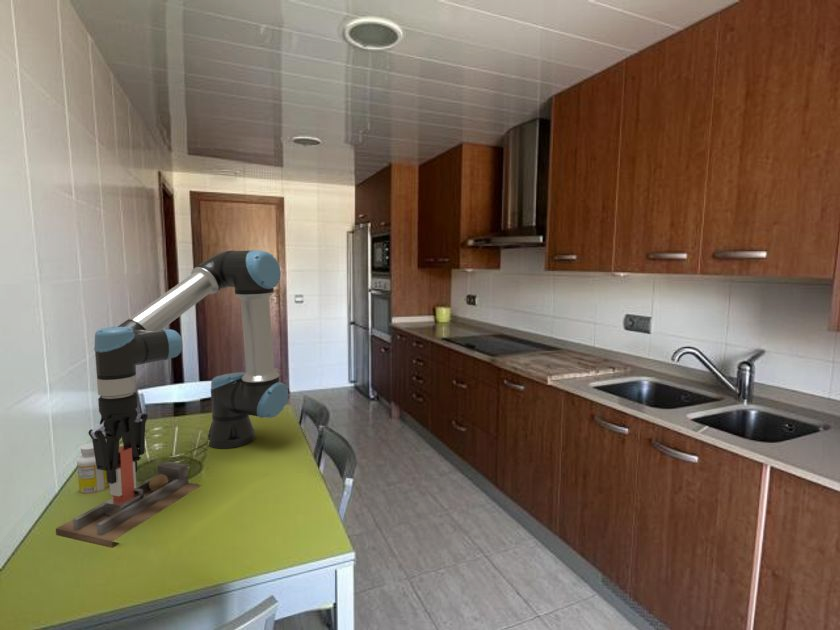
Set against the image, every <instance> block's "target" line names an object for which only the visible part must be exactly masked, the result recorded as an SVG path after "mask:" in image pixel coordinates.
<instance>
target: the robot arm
mask: <svg viewBox="0 0 840 630" xmlns="http://www.w3.org/2000/svg"><path fill="white" fill-rule="evenodd" d="M281 273H282V271H281V268H280V264H279V262H278V260H277V258H276V257H274V255H273V254H271V253H270V252H268V251H266V250H257V249H254V250H225V251H222V252H220V253H217V254H215V255H213V256H212V257H210V258H207V259H206V260H205V261H203V262H201V263H200V264H199V265H197V266H195V267H194V268H192V270H191V272H190V275H189V276H187V277H186V278H184V279H183V280H182V281H180V282H179V283H178V284H177V283H176V285H175V286H174V287H173V286H172V288H170V289H168V291H166V292H165V293H163V294H162V295H161V296H159V297H158V298H156V299H155V300H153V301H152V302H151V303H148V304H147V305H146V306H145V307H143V308H142V309H141V310H139V311H138V312H136V313H135V314H134V315H132V316H131V317H129V318H127V319H126V320H125V321H123V322H122V323H120V324H119V325H118V326H110V327H104V328H99V329H98V330H96V331H95V333H94V334H95V335H94V347H93V350H94V355H95V356H94V357H95V365H96V366H95V368H96V369H95V370H96V382H97V383H96V384H97V385H96V386H97V395H98V396H99V398H98V399H97V401H98V412H99V414H100V416H101V417H100V420H99V425H98V426H97V427H95V429H90V430H89V431H88V436H89V437H90V439H91V441H92V443H93V448H94V454H95V460H96V467H97V469H98V470H104V471H106V475H107V482H108V483H110V485H109V494H110V496H113V495H115V496H121V495H122V482H121V468H117V464H118V452H119V447H120V441H121V440H122V446H125V447H132V461H133V478H134V488H136V486H137V475H136V473H137V472H138V461H140V460H141V459H142V457H141V455H142V456H143V455H144V454H145V451H146V450H145V447H146V442H145V441H146V422H147V419H148V413H140V412H138V411H137V408H138V406H139V403H138V394H137V390H138V383H137V366H140V365H144V364H149V363H150V364H151V363H155V362H159V361H167V360H171V359H174V358H176V357H178V356H179V355H180V354H181V352H182V350H183V339H182V337H181V335H180V333H179V332H177V330H174V329H165V328H166V327H168V326H169V325H170V324H171V323H172V322H174V321H176V319H178V318H180V316H182V315H184V314H185V313H186V312H188V311H189V310H190V309H191V308H192V307H194V306H195V305H197V304H198V303H199V302H201V300H203V299H204V298H205V297H207V296H208V295H214V294H216V293H217V292H218V291H220V290H222V289H226V288H234V294H235V296H236V297H237V298H238V299H240V307H241V308H240V309H241V321H242V334H243V347H244V348H243V349H244V360H245V372H244V371H242V372H241V371H239V372H238V371H237V372H231V373H224V374H221V375H217V376H214V377H213V378H212V379H211V382H210V398H211V399H210V400H211V419H212V420H211V425H210V427H209V431H208V433H207V438H206V440H210V442H209V445H208V446H209V447H211V448H214V449H232V448H238V447H242V446H246V445H247V444H250V443H252V442H253V441H254V440H255V438H256V431H255V428H254V427H253V423H252V421H251V418H250V416H253V417H257V418H261V419H262V418H269V419H270V418H274V417H275V418H276V417H277V416H278V415H279V414H280V413H281V412H282V411H284V407H285V406H286V404H287V402H288V399H289V390H288V387H287V385H286V384H285V383H283V382H282V381H280V373H279V372H277V370H275V368H274V366H275V365H274V352H273V349H274V348H273V335H272V321H271V319H272V318H271V306H270V305H271V304H270V303H271V302H270V297H271V296H272V295H273V294H274V293H275V290H274V288H275V287H277V286H278V284H279V282H280V281H281V278H282V277H281V275H282V274H281Z"/></svg>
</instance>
